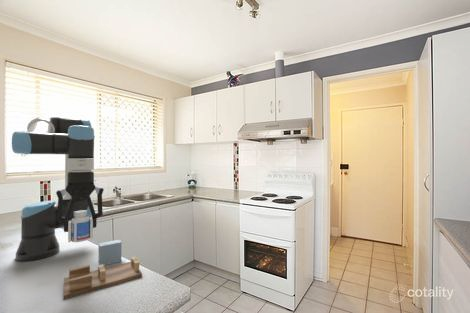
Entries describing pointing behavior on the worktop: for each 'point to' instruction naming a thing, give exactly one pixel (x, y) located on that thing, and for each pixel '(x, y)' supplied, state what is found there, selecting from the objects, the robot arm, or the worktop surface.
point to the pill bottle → (80, 226)
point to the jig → (99, 277)
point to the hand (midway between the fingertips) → (80, 239)
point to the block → (109, 252)
